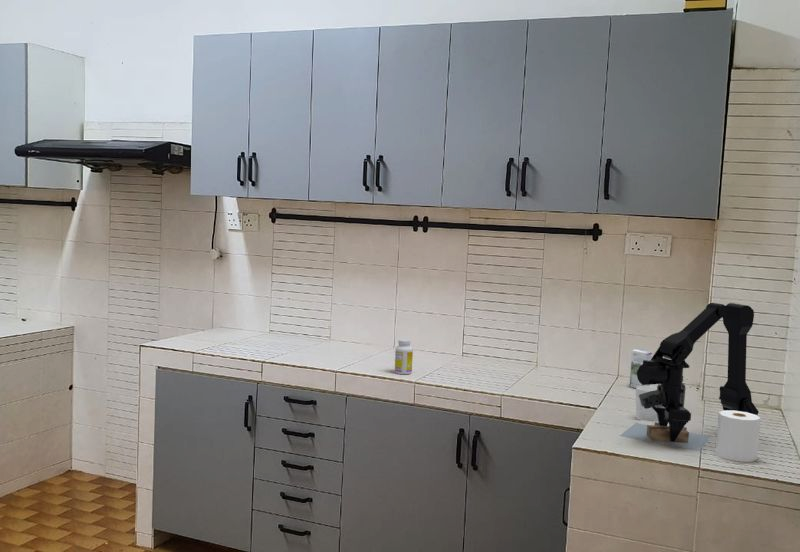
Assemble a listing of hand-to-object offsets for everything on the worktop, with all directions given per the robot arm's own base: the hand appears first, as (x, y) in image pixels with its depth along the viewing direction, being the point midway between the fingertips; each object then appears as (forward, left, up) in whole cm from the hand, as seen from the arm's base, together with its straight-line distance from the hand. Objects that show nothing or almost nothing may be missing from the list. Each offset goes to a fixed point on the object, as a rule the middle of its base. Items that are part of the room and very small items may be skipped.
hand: (667, 436), depth 227 cm
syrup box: (+25, -68, -2) cm, 72 cm away
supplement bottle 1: (+105, -28, -2) cm, 109 cm away
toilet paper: (-19, +4, -2) cm, 19 cm away
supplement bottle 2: (+7, -41, -2) cm, 42 cm away
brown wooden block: (0, 0, -1) cm, 1 cm away
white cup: (+11, -22, -2) cm, 25 cm away
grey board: (+1, -3, -1) cm, 3 cm away
